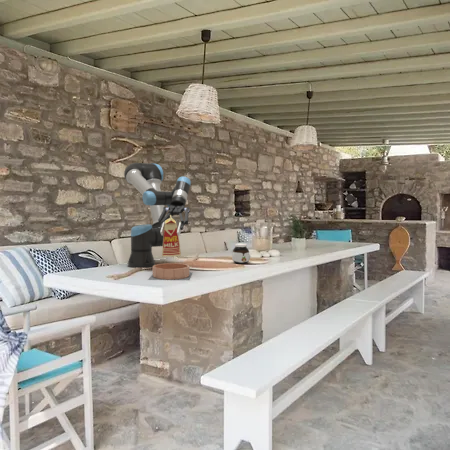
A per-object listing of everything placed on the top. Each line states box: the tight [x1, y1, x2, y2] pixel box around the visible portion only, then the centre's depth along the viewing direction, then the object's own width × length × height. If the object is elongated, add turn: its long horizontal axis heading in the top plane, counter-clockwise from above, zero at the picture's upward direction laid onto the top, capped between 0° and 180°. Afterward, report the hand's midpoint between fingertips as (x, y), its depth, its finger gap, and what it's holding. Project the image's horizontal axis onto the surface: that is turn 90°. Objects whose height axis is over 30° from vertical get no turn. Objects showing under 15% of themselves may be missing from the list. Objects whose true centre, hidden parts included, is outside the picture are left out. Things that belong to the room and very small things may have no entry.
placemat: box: [147, 272, 193, 281], centre depth 220 cm, size 20×20×1 cm
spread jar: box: [232, 242, 251, 265], centre depth 268 cm, size 12×11×12 cm
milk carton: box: [161, 215, 182, 257], centre depth 218 cm, size 9×9×20 cm
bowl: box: [152, 262, 191, 281], centre depth 220 cm, size 18×18×5 cm
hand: (169, 233), depth 215 cm, fingers closed on milk carton, 8 cm apart
